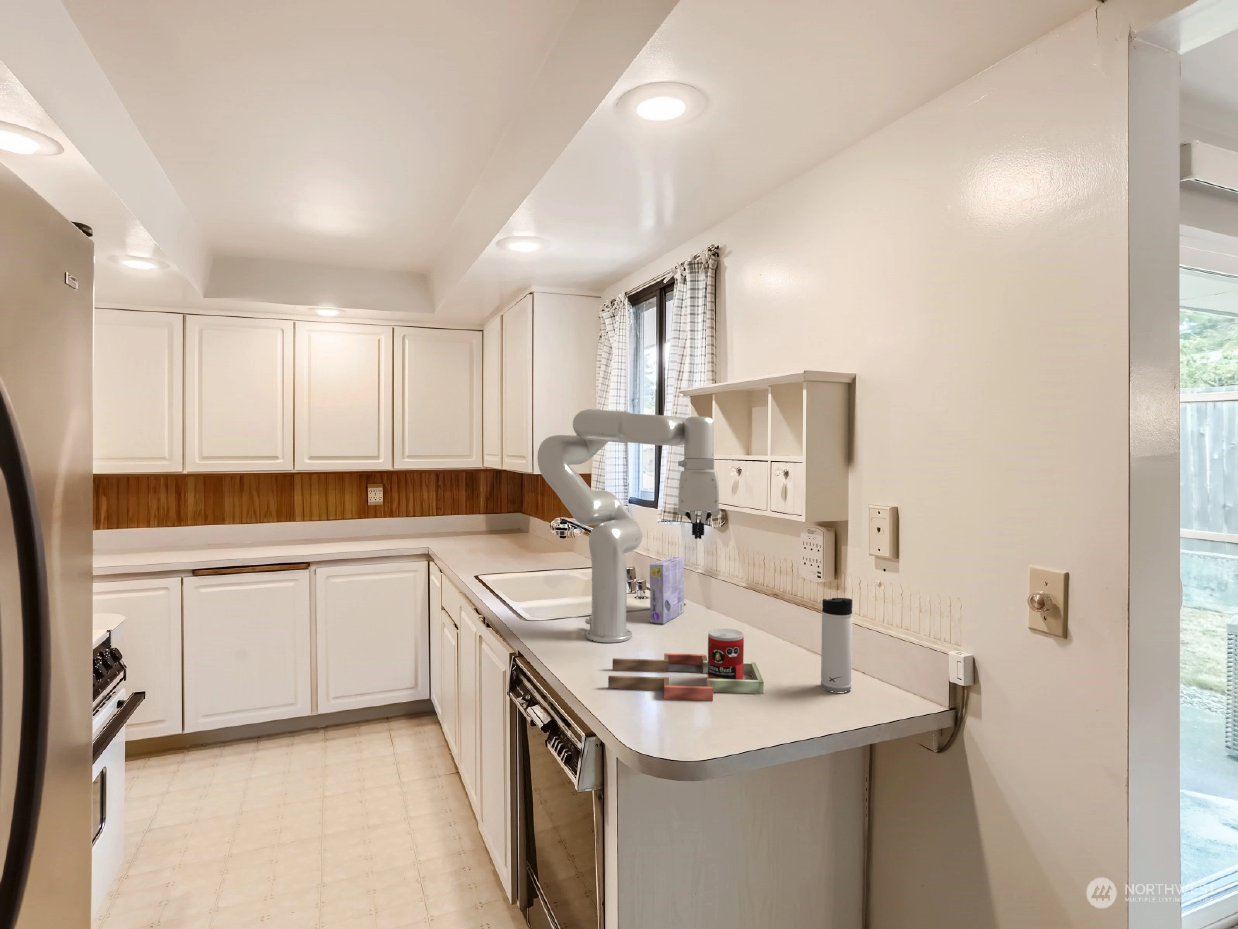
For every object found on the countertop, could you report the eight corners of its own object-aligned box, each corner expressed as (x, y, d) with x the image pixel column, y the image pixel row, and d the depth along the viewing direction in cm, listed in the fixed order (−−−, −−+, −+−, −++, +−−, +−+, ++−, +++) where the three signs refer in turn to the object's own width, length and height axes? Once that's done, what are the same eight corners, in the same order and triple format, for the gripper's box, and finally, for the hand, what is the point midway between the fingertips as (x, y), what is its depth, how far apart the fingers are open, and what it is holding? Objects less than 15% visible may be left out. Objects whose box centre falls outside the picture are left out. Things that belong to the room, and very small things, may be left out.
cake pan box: (671, 609, 217) (672, 554, 217) (686, 611, 215) (686, 556, 215) (648, 623, 200) (648, 564, 200) (663, 625, 198) (664, 565, 197)
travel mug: (835, 696, 142) (837, 601, 142) (814, 685, 148) (816, 595, 148) (858, 692, 145) (860, 599, 144) (837, 682, 151) (838, 592, 150)
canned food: (701, 683, 149) (702, 634, 149) (717, 674, 156) (718, 626, 155) (733, 691, 145) (734, 640, 144) (748, 680, 151) (749, 631, 151)
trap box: (606, 697, 141) (606, 685, 140) (614, 662, 163) (614, 652, 163) (767, 702, 138) (767, 690, 138) (752, 666, 161) (752, 655, 161)
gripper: (669, 465, 167) (668, 539, 168) (730, 466, 166) (729, 540, 167) (669, 465, 175) (668, 535, 175) (727, 465, 174) (726, 536, 174)
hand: (697, 538), depth 171 cm, fingers closed
